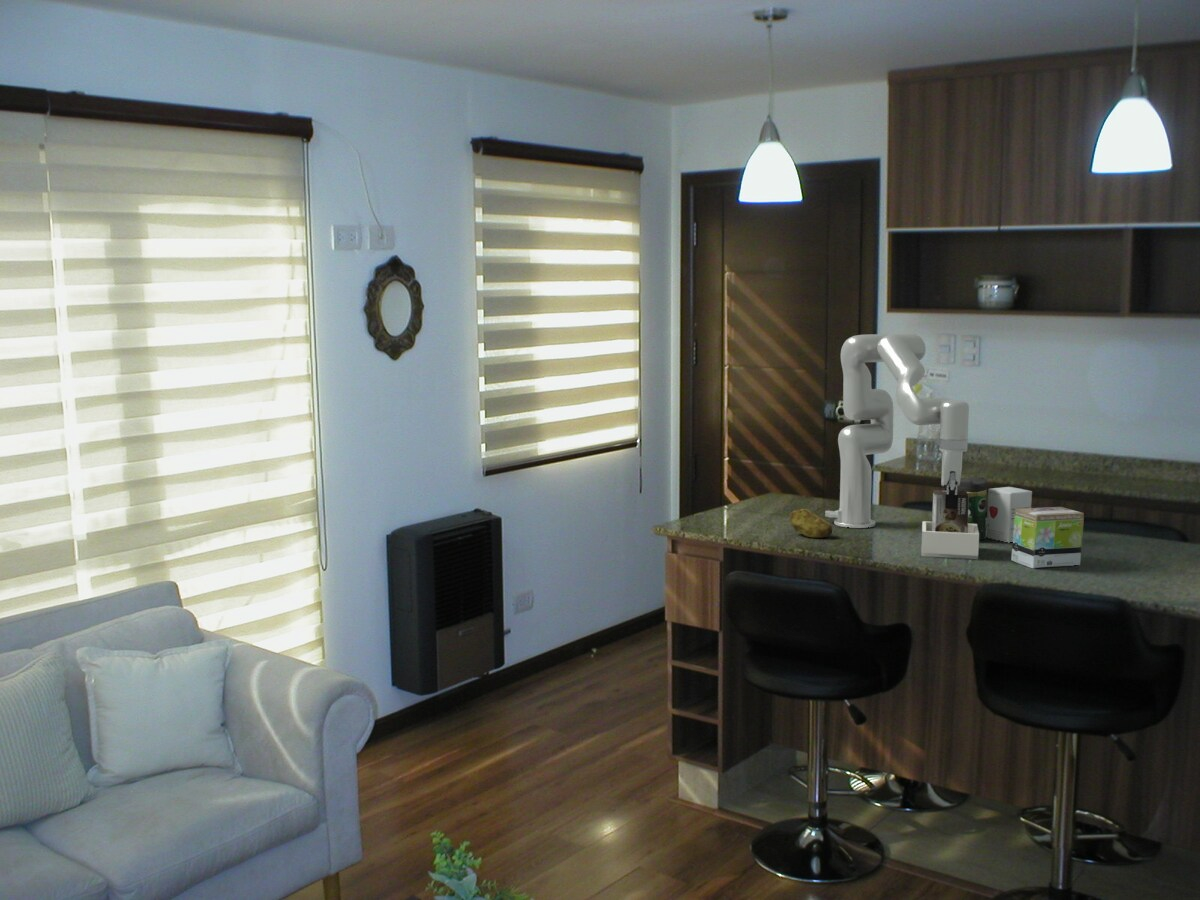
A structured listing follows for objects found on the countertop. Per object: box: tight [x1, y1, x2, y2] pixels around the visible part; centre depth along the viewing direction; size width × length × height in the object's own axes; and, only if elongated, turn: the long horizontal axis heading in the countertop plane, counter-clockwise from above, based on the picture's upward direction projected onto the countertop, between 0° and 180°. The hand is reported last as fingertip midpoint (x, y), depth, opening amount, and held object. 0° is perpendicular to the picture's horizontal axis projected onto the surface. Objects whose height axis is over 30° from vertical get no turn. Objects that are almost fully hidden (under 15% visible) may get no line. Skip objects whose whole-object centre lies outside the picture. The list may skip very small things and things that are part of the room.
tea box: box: [1010, 506, 1085, 569], centre depth 315 cm, size 15×10×15 cm
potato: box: [788, 508, 833, 539], centre depth 351 cm, size 8×13×8 cm, turn 39°
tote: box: [920, 520, 980, 560], centre depth 330 cm, size 15×15×7 cm
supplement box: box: [985, 486, 1033, 544], centre depth 346 cm, size 9×9×15 cm
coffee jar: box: [957, 476, 988, 541], centre depth 346 cm, size 10×8×19 cm
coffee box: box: [931, 489, 969, 533], centre depth 329 cm, size 9×6×16 cm
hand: (950, 505), depth 328 cm, fingers open, 9 cm apart
